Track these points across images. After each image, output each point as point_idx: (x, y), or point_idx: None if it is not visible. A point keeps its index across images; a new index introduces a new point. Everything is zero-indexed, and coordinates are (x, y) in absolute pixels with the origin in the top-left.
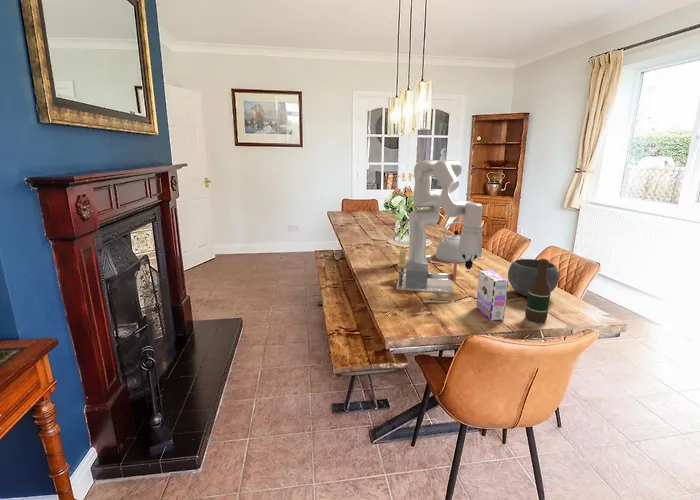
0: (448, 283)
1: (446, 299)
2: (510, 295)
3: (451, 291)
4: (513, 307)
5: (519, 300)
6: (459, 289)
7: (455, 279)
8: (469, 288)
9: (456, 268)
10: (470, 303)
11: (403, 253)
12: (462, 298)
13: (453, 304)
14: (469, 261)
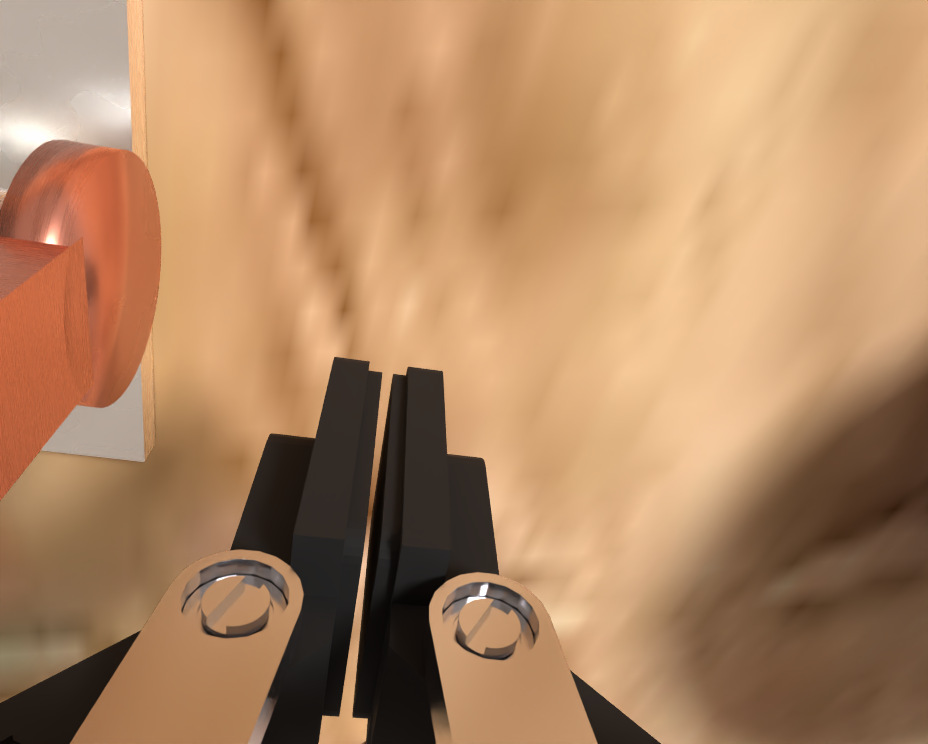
0: (60, 74)
1: (64, 609)
2: (918, 456)
3: (116, 458)
4: (725, 719)
5: (910, 581)
6: (271, 273)
7: (122, 382)
8: (452, 218)
9: (11, 482)
10: None
11: None
12: None
13: None
14: (354, 703)
